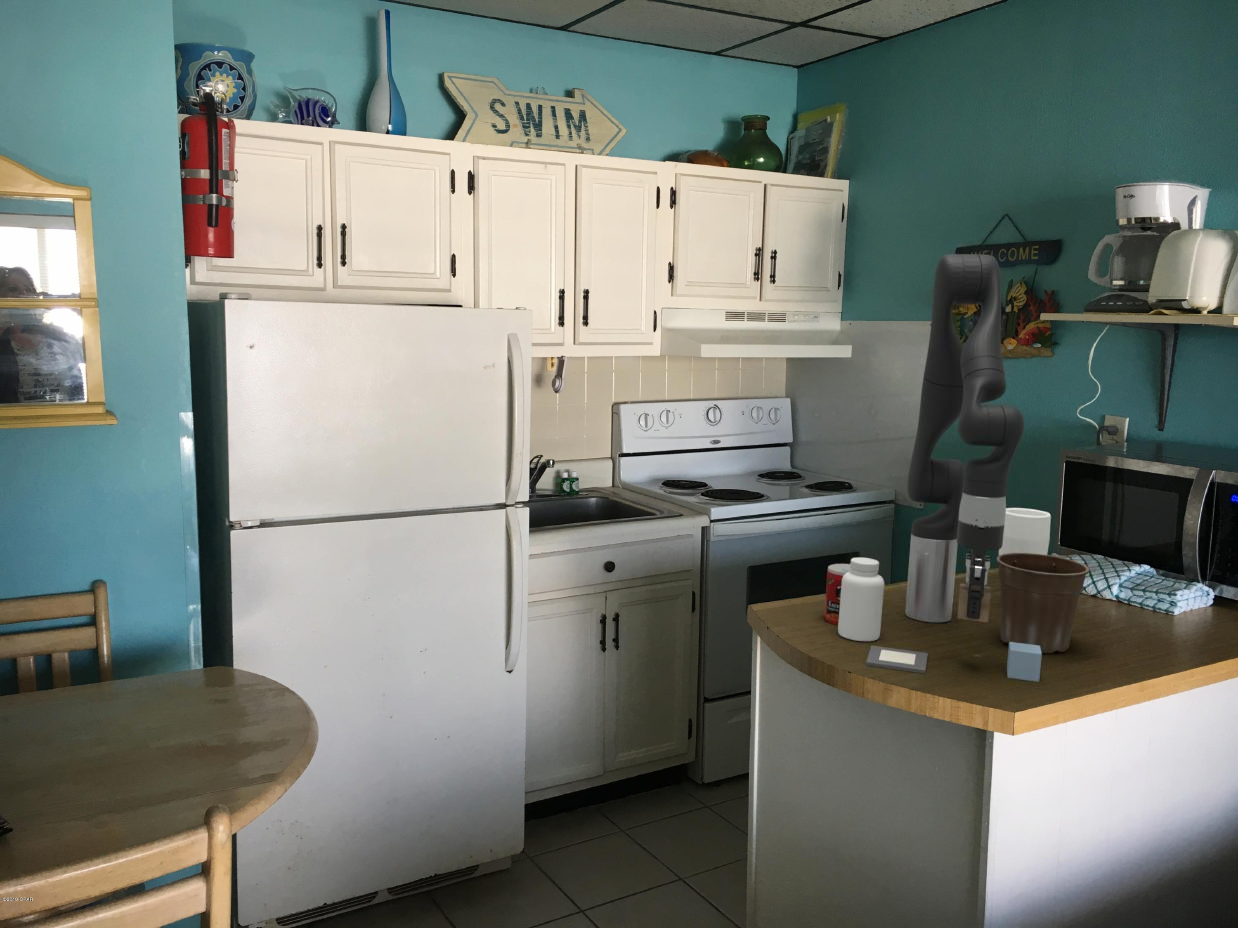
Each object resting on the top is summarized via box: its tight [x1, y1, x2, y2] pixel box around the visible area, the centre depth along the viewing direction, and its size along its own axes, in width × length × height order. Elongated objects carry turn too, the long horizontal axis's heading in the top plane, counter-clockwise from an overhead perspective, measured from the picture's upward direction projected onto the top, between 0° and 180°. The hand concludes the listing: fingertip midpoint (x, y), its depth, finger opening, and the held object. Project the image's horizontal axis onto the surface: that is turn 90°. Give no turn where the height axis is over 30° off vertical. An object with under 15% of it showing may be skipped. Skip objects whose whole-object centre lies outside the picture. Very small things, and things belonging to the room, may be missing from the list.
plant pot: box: [996, 553, 1090, 654], centre depth 187 cm, size 16×16×16 cm
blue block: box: [1006, 642, 1043, 683], centre depth 170 cm, size 5×5×5 cm
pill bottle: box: [837, 557, 885, 642], centre depth 188 cm, size 8×8×15 cm
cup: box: [998, 507, 1052, 556], centre depth 210 cm, size 10×10×22 cm
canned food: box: [824, 563, 851, 626], centre depth 198 cm, size 8×8×11 cm
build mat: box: [865, 645, 929, 675], centre depth 175 cm, size 10×10×1 cm
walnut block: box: [957, 583, 992, 623], centre depth 172 cm, size 5×5×5 cm
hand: (972, 613), depth 172 cm, fingers closed on walnut block, 5 cm apart
